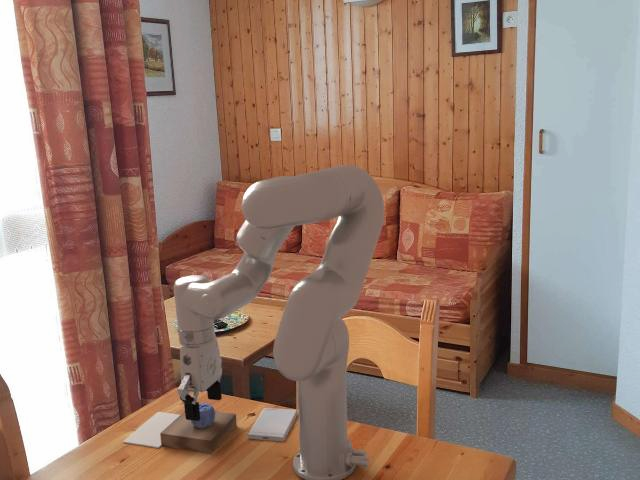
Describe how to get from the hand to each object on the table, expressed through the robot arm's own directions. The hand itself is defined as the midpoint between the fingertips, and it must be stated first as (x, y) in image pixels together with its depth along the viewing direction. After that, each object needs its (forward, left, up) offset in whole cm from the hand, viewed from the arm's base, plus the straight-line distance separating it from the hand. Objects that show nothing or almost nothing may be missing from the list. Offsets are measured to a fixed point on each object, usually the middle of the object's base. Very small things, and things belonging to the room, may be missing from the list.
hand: (204, 409), depth 139 cm
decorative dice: (+1, 0, -4) cm, 4 cm away
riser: (+2, 0, -7) cm, 7 cm away
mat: (+12, 0, -7) cm, 14 cm away
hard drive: (-12, -8, -7) cm, 17 cm away
